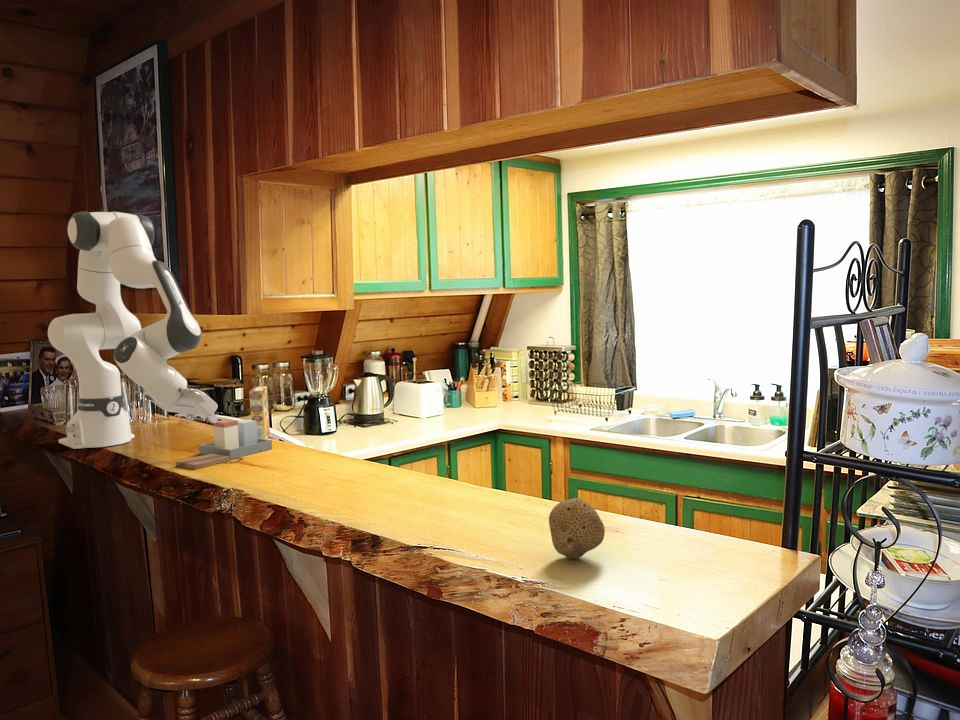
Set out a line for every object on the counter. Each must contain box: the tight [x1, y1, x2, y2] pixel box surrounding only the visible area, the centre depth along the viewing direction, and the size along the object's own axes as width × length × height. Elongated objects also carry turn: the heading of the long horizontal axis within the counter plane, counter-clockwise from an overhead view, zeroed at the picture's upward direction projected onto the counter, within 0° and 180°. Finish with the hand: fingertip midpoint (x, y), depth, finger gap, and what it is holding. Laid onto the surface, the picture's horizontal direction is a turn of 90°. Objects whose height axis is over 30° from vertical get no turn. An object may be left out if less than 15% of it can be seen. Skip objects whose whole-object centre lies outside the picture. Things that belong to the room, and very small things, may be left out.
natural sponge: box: [548, 497, 606, 560], centre depth 126 cm, size 9×9×10 cm
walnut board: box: [175, 453, 231, 470], centre depth 201 cm, size 8×10×1 cm
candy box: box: [248, 386, 271, 440], centre depth 231 cm, size 9×4×15 cm, turn 8°
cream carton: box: [212, 418, 239, 449], centre depth 212 cm, size 5×5×9 cm
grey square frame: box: [198, 438, 273, 460], centre depth 214 cm, size 13×14×2 cm
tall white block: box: [238, 419, 258, 447], centre depth 217 cm, size 4×4×8 cm
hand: (204, 419), depth 205 cm, fingers open, 8 cm apart
